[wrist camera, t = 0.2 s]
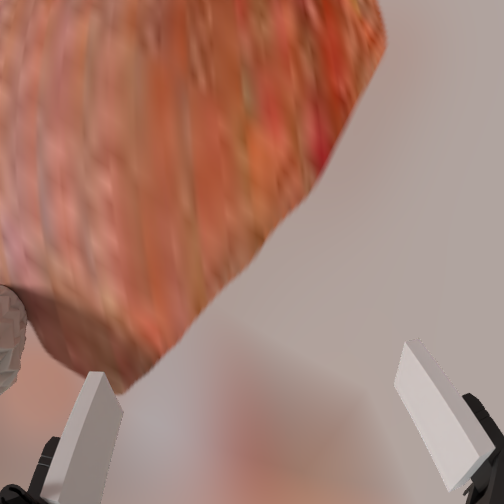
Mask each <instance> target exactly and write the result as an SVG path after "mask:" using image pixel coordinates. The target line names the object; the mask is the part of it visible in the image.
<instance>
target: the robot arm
mask: <svg viewBox="0 0 504 504" xmlns="http://www.w3.org/2000/svg"><path fill="white" fill-rule="evenodd" d="M394 386H395V388H396V390H397V392H398V394H399V395H400V397H401V399H402V401H403V403H404V405H405V407H406V408H407V410H408V412H409V414H410V416H411V418H412V420H413V422H414V423H415V425H416V427H417V429H418V431H419V433H420V435H421V437H422V439H423V441H424V443H425V445H426V447H427V449H428V451H429V452H430V455H431V457H432V459H433V461H434V463H435V465H436V467H437V469H438V471H439V473H440V475H441V477H442V479H443V481H444V483H445V485H446V487H447V490H448V492H450V491H452V490H455V489H457V488H459V487H461V486H463V485H464V484H465V483H466V482H467V481H468V480H469V479H470V478H471V480H472V481H473V483H472V484H471V485H470V486H469V487H468V488H467V489H466V490H465V492H464V494H463V495H464V496H465V495H466V494H467V493H468V492H469V494H468V498H467V501H466V504H504V436H503V434H502V433H501V431H500V429H499V428H498V426H497V425H496V424H495V422H494V421H493V419H492V418H491V417H490V416H489V413H488V412H487V411H486V410H485V408H484V406H483V405H482V404H481V402H480V401H479V399H477V398H476V397H475V396H473V395H472V394H470V393H468V394H465V395H463V396H461V395H460V393H459V392H458V390H457V389H456V388H455V386H454V385H453V383H452V382H451V381H450V379H449V378H448V376H447V375H446V374H445V372H444V371H443V369H442V368H441V367H440V365H439V364H438V363H437V361H436V360H435V359H434V357H433V356H432V355H431V353H430V352H429V351H428V349H427V348H426V347H425V345H424V344H423V343H422V341H421V340H420V339H419V338H418V339H414V340H409V341H406V342H405V343H404V347H403V352H402V356H401V359H400V363H399V367H398V371H397V375H396V378H395V381H394ZM123 413H124V412H123V410H122V408H121V406H120V404H119V402H118V400H117V398H116V396H115V394H114V392H113V390H112V388H111V386H110V384H109V381H108V379H107V377H106V375H105V373H104V372H93V371H89V373H88V375H87V378H86V380H85V382H84V384H83V386H82V389H81V391H80V393H79V395H78V398H77V400H76V402H75V405H74V407H73V409H72V412H71V414H70V416H69V419H68V421H67V424H66V426H65V429H64V431H63V434H62V436H61V438H59V437H52V438H51V439H50V440H49V441H48V442H47V443H46V445H45V447H44V449H43V452H42V454H41V455H42V456H41V457H40V459H39V462H38V463H39V464H38V465H37V467H36V470H35V472H34V475H33V478H32V480H31V483H30V486H29V489H28V491H27V492H26V491H24V490H23V489H22V488H21V487H20V486H18V485H14V484H10V485H7V486H5V487H4V488H3V489H2V490H1V492H0V504H101V500H102V496H103V491H104V487H105V482H106V478H107V474H108V469H109V466H110V462H111V458H112V454H113V450H114V446H115V442H116V439H117V435H118V431H119V427H120V424H121V420H122V417H123Z"/></svg>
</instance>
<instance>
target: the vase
mask: <svg viewBox="0 0 504 504" xmlns="http://www.w3.org/2000/svg"><path fill="white" fill-rule="evenodd" d="M26 325H27V315H26V311H25V307H24V305H23V304H22V302H21V300H20V299H19V298H18V296H17V295H16V294H15V293H14V292H13V291H12V290H10V289H9V288H8V287H5V286H3V285H0V395H1V394H2V393H3V392H4V391H6V390H7V389H8V388H10V387H11V386H12V385H13V384H14V383H15V382H16V381H17V373H18V371H19V370H20V368H21V367H20V366H21V365H20V359H21V354H22V352H23V350H24V344H25V340H26V337H25V331H26Z"/></svg>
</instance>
